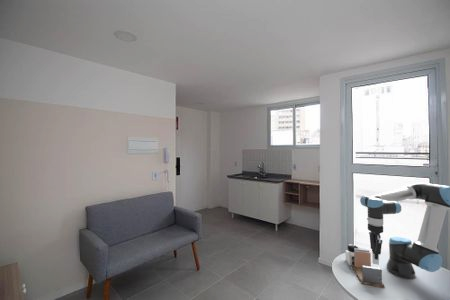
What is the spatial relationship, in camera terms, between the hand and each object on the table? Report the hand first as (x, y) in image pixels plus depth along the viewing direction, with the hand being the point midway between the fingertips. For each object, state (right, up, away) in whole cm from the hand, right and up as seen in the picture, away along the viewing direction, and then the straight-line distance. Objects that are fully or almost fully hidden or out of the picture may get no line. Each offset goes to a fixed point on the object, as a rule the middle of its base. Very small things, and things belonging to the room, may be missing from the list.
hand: (375, 263), depth 120 cm
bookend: (+2, -15, +6) cm, 16 cm away
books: (+8, -15, +23) cm, 28 cm away
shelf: (+5, -17, +15) cm, 23 cm away
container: (+6, -17, +30) cm, 35 cm away
